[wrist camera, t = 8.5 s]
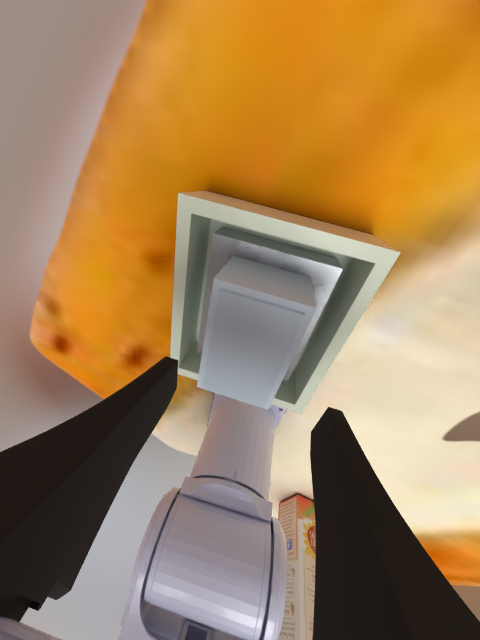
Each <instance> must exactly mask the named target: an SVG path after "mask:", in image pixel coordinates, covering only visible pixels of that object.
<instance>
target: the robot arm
mask: <svg viewBox="0 0 480 640" xmlns="http://www.w3.org/2000/svg"><path fill="white" fill-rule="evenodd" d="M177 374H178V360H176V359H173V358H170V357H167V356H166V357H164V358H163V359H162V360H160V361H159V362H158V363H156V364H155V365H154V366H153V367H151V368H150V369H149V370H147V371H146V372H144V373H143V374H142V375H140V376H139V377H138V378H136V379H135V380H133V381H132V382H130V383H129V384H128V385H126V386H125V387H123V388H122V389H120V390H119V391H117V392H115V393H114V394H112V395H111V396H109V397H108V398H106V399H104V400H103V401H101V402H100V403H98V404H96V405H95V406H93V407H91V408H89V409H88V410H86V411H84V412H82V413H81V414H79V415H77V416H75V417H74V418H71V419H69V420H67V421H65V422H64V423H62V424H60V425H58V426H56V427H54V428H52V429H50V430H48V431H46V432H44V433H42V434H39V435H37V436H35V437H33V438H31V439H28V440H26V441H24V442H22V443H19V444H17V445H15V446H13V447H10V448H8V449H6V450H4V451H2V452H0V640H61V639H59V638H56V637H54V636H52V635H49V634H47V633H44V632H42V631H40V630H37V629H35V628H32V627H30V626H27V625H25V624H23V623H20V620H21V618H22V617H23V615H24V614H25V612H26V610H27V609H28V607H30V608H32V609H35V610H37V611H38V610H39V609H40V608H41V607H42V605H43V603H44V602H45V600H46V598H47V597H50V598H53V599H55V600H57V599H59V598H60V597H62V596H63V595H65V594H66V593H68V592H69V591H70V590H71V588H72V586H73V584H74V582H75V579H76V578H77V575H78V573H79V571H80V569H81V567H82V565H83V563H84V560H85V558H86V556H87V554H88V552H89V550H90V548H91V545H92V543H93V541H94V539H95V537H96V535H97V533H98V531H99V529H100V527H101V525H102V522H103V520H104V518H105V516H106V514H107V512H108V510H109V508H110V506H111V504H112V502H113V500H114V498H115V496H116V494H117V492H118V490H119V489H120V487H121V484H122V483H123V481H124V479H125V477H126V475H127V473H128V471H129V469H130V467H131V465H132V464H133V462H134V460H135V458H136V457H137V455H138V453H139V452H140V450H141V449H142V447H143V445H144V444H145V442H146V441H147V439H148V437H149V436H150V434H151V433H152V431H153V430H154V428H155V426H156V425H157V423H158V422H159V420H160V418H161V417H162V415H163V414H164V412H165V410H166V409H167V407H168V405H169V403H170V401H171V399H172V397H173V395H174V392H175V390H176V388H177ZM285 410H286V409H285V408H282V407H279V406H276V405H273V404H271V405H270V408H269V410H267V409H264V408H261V407H258V406H254V405H251V404H248V403H245V402H242V401H239V400H236V399H233V398H230V397H227V396H224V395H220V394H217V393H215V395H214V400H213V404H212V408H211V413H210V417H209V421H208V426H207V431H206V434H205V436H204V439H203V442H202V445H201V447H200V450H199V453H198V456H197V459H196V462H195V464H194V467H193V470H192V473H191V475H190V477H187V476H186V477H185V479H184V482H183V485H182V487H181V488H178V487H174V488H173V489H172V490H171V491H169V492H168V493H167V494H165V495H164V496H163V498H162V499H161V501H160V502H159V504H158V506H157V508H156V510H155V512H154V514H153V516H152V518H151V520H150V523H149V525H148V527H147V530H146V532H145V535H144V537H143V541H142V543H141V546H140V549H139V551H138V555H137V558H136V561H135V565H134V569H133V573H132V580H131V589H130V592H129V596H128V600H127V604H126V607H125V611H124V614H123V617H122V620H121V626H122V630H121V633H120V636H119V639H118V640H277V639H278V637H279V634H280V631H281V626H282V621H283V615H284V607H285V598H286V584H287V546H286V537H285V533H284V531H283V529H282V527H281V525H280V522H279V520H278V519H277V518H274V517H271V516H272V502H270V501H268V497H269V485H270V474H271V462H272V450H273V438H274V430H275V429H276V427H277V425H278V423H279V421H280V419H281V417H282V416H283V414H284V412H285ZM310 457H311V471H312V484H313V496H314V508H315V526H316V558H315V597H314V620H313V638H312V640H480V622H479V621H478V619H477V618H476V617H475V615H474V614H473V613H472V612H471V611H470V609H469V608H468V607H467V605H466V604H465V603H464V602H463V600H462V599H461V598H460V597H459V595H458V594H457V592H456V591H455V590H454V589H453V587H452V586H451V585H450V583H449V582H448V581H447V579H446V578H445V577H444V575H443V574H442V573H441V571H440V570H439V569H438V567H437V566H436V564H435V563H434V562H433V560H432V559H431V558H430V556H429V555H428V554H427V552H426V551H425V549H424V548H423V547H422V545H421V544H420V542H419V541H418V540H417V538H416V537H415V535H414V534H413V532H412V531H411V529H410V528H409V526H408V525H407V523H406V522H405V520H404V519H403V517H402V516H401V514H400V513H399V511H398V510H397V508H396V507H395V505H394V504H393V502H392V500H391V499H390V497H389V495H388V494H387V492H386V491H385V489H384V487H383V486H382V484H381V482H380V481H379V479H378V477H377V476H376V474H375V472H374V470H373V469H372V467H371V465H370V463H369V461H368V460H367V458H366V456H365V454H364V452H363V450H362V449H361V447H360V445H359V443H358V441H357V439H356V437H355V435H354V433H353V432H352V430H351V428H350V426H349V424H348V422H347V420H346V418H345V416H344V414H343V412H342V411H340V410H337V409H333V408H330V407H328V408H327V410H326V411H325V413H324V414H323V415H322V417H321V418H320V420H319V421H318V423H317V424H316V426H315V427H314V428H313V430H312V431H311V450H310Z"/></svg>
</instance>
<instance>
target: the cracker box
mask: <svg viewBox="0 0 480 640" xmlns="http://www.w3.org/2000/svg"><path fill="white" fill-rule="evenodd" d="M278 520H279V522H280V525H281V527H282V529H283V531H284V533H285V537H286V546H287V584H286V598H285V607H284V615H283V621H282V626H281V631H280V634H279V637H278V639H277V640H312V638H313V620H314V597H315V558H316V526H315V508H314V502H313V501H311V500H309V499H307V498H304V497H302V496H300V495H296V496H294V497H292V498H290V499H288V500H285V501H283V502H281V503H279V516H278Z"/></svg>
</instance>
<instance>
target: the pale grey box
mask: <svg viewBox="0 0 480 640" xmlns="http://www.w3.org/2000/svg"><path fill="white" fill-rule="evenodd" d="M315 310H316V303H315V297H314V291H313V286H312V280H311V277H307V276H304V275H300V274H297V273H293V272H289V271H286V270H282V269H279V268H275V267H272V266H268V265H265V264H261V263H257V262H254V261H250V260H247V259H243V258H240V257H236V256H233V257H232V258H231V259H230V260H229V261H228V262H227V263H226V265H225V266H224V267H223V268H222V269H221V270H220V272H219V273H218V274H217V275H216V276H215V277H214V280H213V286H212V293H211V299H210V305H209V312H208V318H207V324H206V331H205V337H204V344H203V350H202V356H201V363H200V369H199V376H198V382H197V387H199V388H202V389H205V390H208V391H211V392H214V393H217V394H220V395H224V396H227V397H230V398H233V399H236V400H239V401H242V402H245V403H248V404H251V405H254V406H258V407H261V408H264V409H267V410H269V408H270V405H271V403H272V401H273V399H274V397H275V395H276V393H277V391H278V388H279V386H280V384H281V382H282V380H283V378H284V376H285V374H286V371H287V369H288V367H289V365H290V363H291V361H292V359H293V357H294V354H295V352H296V350H297V348H298V346H299V344H300V342H301V340H302V337H303V335H304V333H305V331H306V329H307V327H308V325H309V323H310V320H311V318H312V316H313V314H314V312H315Z"/></svg>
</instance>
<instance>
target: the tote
mask: <svg viewBox="0 0 480 640" xmlns="http://www.w3.org/2000/svg"><path fill="white" fill-rule="evenodd" d="M222 227H228V228H232V229H235V230H239V231H243V232H246V233H250V234H254V235H257V236H261V237H265V238H268V239H272V240H275V241H279V242H283V243H286V244H290V245H294V246H297V247H301V248H305V249H308V250H312V251H316V252H319V253H323V254H327V255H330V256H334V257H337V259H338V261H339V263H340V264H341V266H342V268H343V270H342V272H341V274H340V276H339V278H338V281H337V283H336V285H335V287H334V289H333V291H332V293H331V295H330V297H329V299H328V301H327V303H326V305H325V307H324V309H323V311H322V313H321V315H320V317H319V319H318V321H317V323H316V325H315V327H314V329H313V331H312V333H311V335H310V337H309V339H308V341H307V343H306V345H305V347H304V349H303V351H302V353H301V356H300V358H299V360H298V362H297V364H296V366H295V368H294V370H293V372H292V374H291V376H290V378H289V380H288V382H286V381H283V380H282V382H281V384H280V386H279V388H278V391H277V393H276V395H275V397H274V399H273V401H272V403H271V404H273V405H276V406H279V407H282V408H285V409H288V410H291V411H294V412H298V413H302V412H303V410H304V408H305V407H306V405H307V403H308V402H309V400H310V399H311V397H312V395H313V394H314V392H315V391H316V389H317V387H318V386H319V384H320V382H321V381H322V379H323V378H324V376H325V374H326V373H327V371H328V369H329V368H330V366H331V365H332V363H333V361H334V360H335V358H336V357H337V355H338V353H339V352H340V350H341V348H342V347H343V345H344V344H345V342H346V340H347V339H348V337H349V335H350V334H351V332H352V331H353V329H354V327H355V326H356V324H357V323H358V321H359V319H360V318H361V316H362V314H363V313H364V311H365V310H366V308H367V306H368V305H369V303H370V301H371V300H372V298H373V297H374V295H375V293H376V292H377V290H378V289H379V287H380V285H381V284H382V282H383V280H384V279H385V277H386V276H387V274H388V272H389V271H390V269H391V268H392V266H393V264H394V263H395V261H396V259H397V258H398V256H399V255H400V253H401V252H399V251H398V250H396V249H395V248H393V247H392V246H390V245H389V244H387V243H386V242H384V241H382V240H381V239H379V238H378V237H376V236H375V235H372V234H369V233H365V232H361V231H357V230H354V229H350V228H346V227H342V226H338V225H335V224H331V223H327V222H323V221H320V220H316V219H312V218H308V217H304V216H301V215H297V214H293V213H289V212H286V211H282V210H278V209H274V208H270V207H267V206H263V205H259V204H255V203H252V202H248V201H244V200H240V199H236V198H233V197H229V196H225V195H221V194H218V193H214V192H210V191H195V192H182V193H178V206H177V226H176V246H175V266H174V287H173V307H172V327H171V348H170V358H173V359H176V360H178V374H179V375H182V376H185V377H188V378H192V379H195V380H198V376H199V369H200V363H201V356H202V355H200V354H197V346H198V339H199V331H200V324H201V317H202V310H203V302H204V295H205V288H206V281H207V274H208V266H209V259H210V252H211V245H212V237H213V233H214V232H216V231H217V230H219V229H221V228H222Z"/></svg>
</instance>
